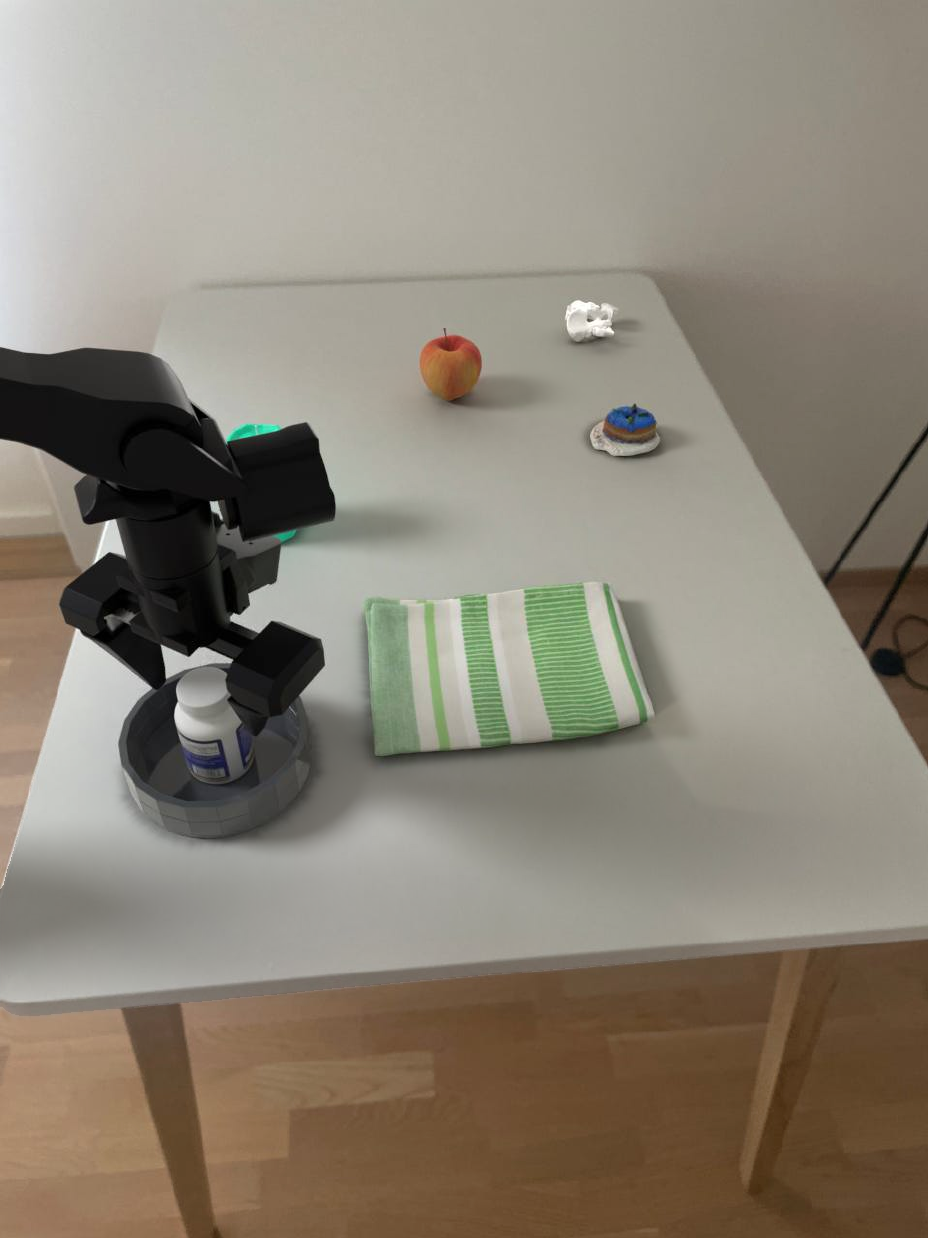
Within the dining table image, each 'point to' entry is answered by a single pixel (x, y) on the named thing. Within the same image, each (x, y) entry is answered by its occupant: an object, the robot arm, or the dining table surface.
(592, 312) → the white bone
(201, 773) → the pill bottle
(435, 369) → the apple
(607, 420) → the dessert
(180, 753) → the pan
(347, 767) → the dining table surface
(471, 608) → the dish towel
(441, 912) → the dining table surface
